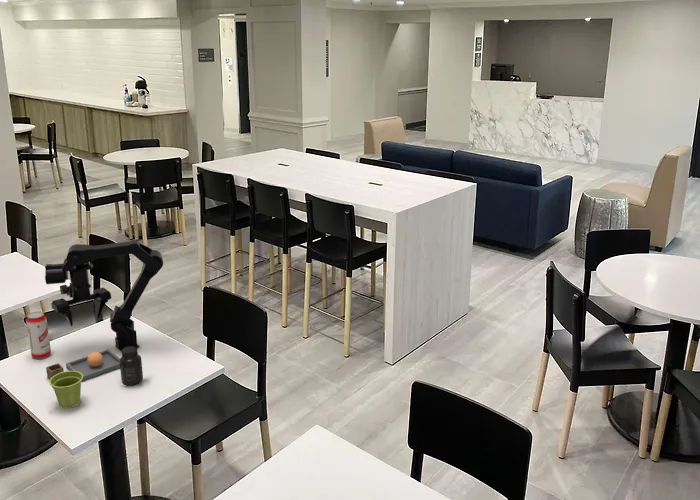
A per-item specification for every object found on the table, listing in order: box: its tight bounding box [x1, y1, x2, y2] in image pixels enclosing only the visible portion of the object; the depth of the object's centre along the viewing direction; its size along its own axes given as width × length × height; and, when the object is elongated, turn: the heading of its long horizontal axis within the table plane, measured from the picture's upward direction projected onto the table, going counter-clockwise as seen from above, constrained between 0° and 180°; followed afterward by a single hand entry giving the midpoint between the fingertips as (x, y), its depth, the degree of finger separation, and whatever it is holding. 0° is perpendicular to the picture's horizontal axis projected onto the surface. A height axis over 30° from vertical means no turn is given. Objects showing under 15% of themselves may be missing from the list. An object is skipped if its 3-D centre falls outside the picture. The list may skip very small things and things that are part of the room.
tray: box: [65, 348, 121, 383], centre depth 207 cm, size 15×12×2 cm
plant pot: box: [48, 370, 83, 409], centre depth 186 cm, size 9×9×9 cm
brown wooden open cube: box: [45, 362, 65, 381], centre depth 200 cm, size 4×4×4 cm
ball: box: [87, 351, 103, 367], centre depth 206 cm, size 5×5×5 cm
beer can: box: [25, 311, 52, 360], centre depth 211 cm, size 6×6×16 cm
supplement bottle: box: [119, 346, 144, 387], centre depth 198 cm, size 7×7×12 cm
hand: (84, 321), depth 213 cm, fingers open, 9 cm apart
